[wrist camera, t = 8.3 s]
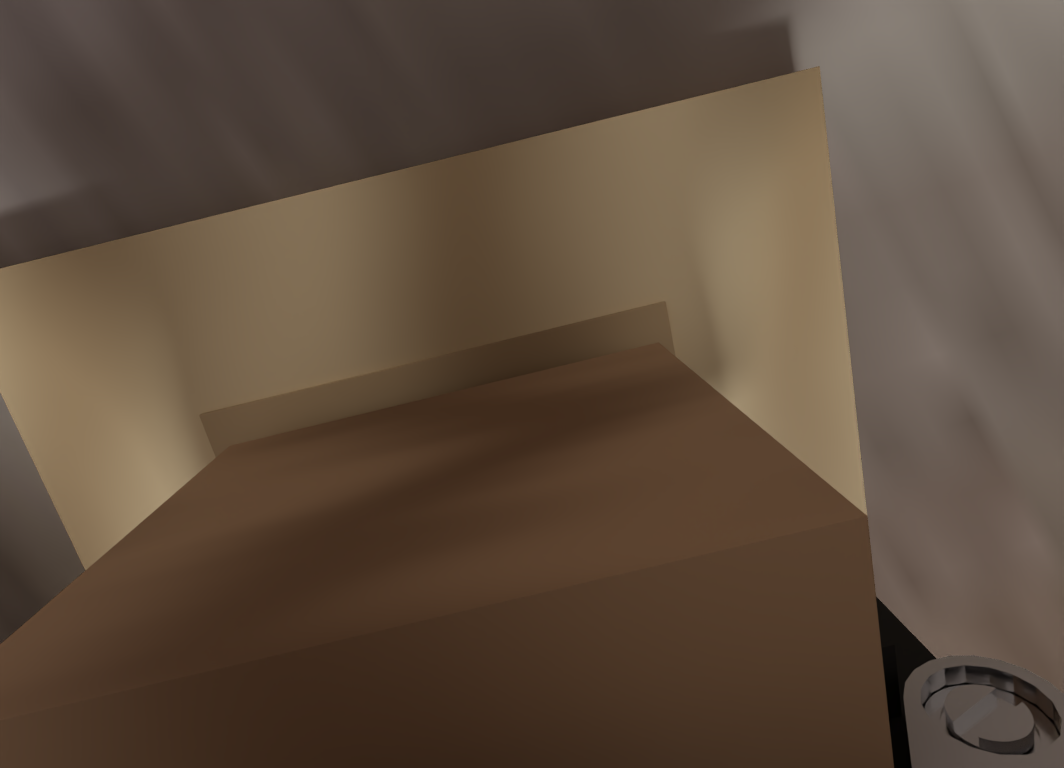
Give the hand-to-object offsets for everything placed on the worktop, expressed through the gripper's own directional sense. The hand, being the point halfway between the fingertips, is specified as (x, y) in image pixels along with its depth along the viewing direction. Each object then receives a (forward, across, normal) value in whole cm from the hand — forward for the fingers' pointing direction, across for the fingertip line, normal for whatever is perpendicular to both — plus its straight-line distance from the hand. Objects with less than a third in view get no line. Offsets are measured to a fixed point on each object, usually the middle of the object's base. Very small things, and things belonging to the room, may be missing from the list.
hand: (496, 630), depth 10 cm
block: (+1, 0, 0) cm, 1 cm away
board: (+3, 0, 0) cm, 3 cm away
